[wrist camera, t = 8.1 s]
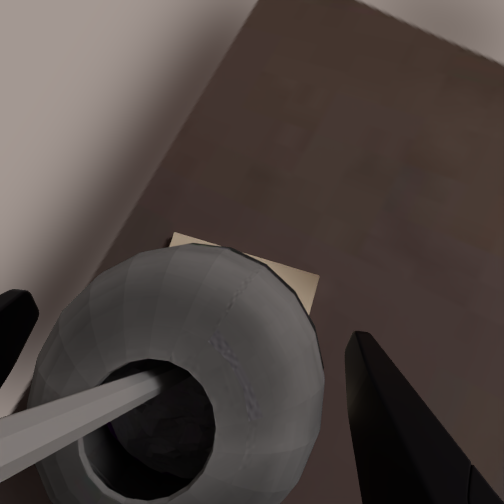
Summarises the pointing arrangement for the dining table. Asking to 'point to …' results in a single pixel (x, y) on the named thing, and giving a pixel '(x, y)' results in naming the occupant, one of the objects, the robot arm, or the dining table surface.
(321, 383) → the beverage cup
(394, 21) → the dining table surface
